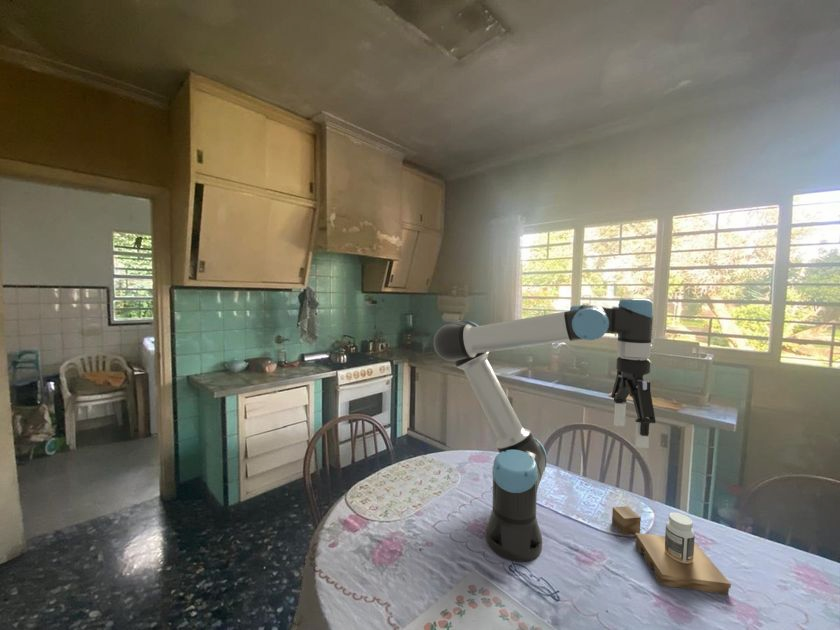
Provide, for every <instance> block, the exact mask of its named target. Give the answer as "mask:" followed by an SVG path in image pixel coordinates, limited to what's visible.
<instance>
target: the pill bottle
mask: <svg viewBox="0 0 840 630" xmlns="http://www.w3.org/2000/svg"><path fill="white" fill-rule="evenodd" d="M693 524H694V523H693V520H692V519H691V518H690V517H688V516H687V515H685V514H682V513H680V512H670V513H669V515H668V521H667V522H666V523H665V534H664V536H665V551H666V553H667V554H668V555H669V556H670V557H671V558H672V559H674V560H676V561H678V562H681V563H685V564H688V563H691V562H692V561H693V556H694V542H695V538H696V537H695V536H696V535H695V534H696V533H695V531H694V529H693V526H694V525H693Z"/></svg>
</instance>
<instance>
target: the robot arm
mask: <svg viewBox="0 0 840 630" xmlns="http://www.w3.org/2000/svg"><path fill="white" fill-rule="evenodd" d="M653 306H654V304H653V301H652V300H651V299H648V298H620V300H619V302H618V305H611V306H610V305H589V304H587V305H586V304H581V305H576V304H575V305H572V306H570V309H569V310H567V311H560V312H555V313H548V314H542V315H538V316H530V317H526V318H519V319H513V320H508V321H502V322H497V323H496V322H494V323H488V324H483V325H479V324H477V323H475V322H473V321H467V320H461V321H458V322H454V323H449V324H448V323H447V324H445V325H443V326H441V327H440V328H439V329H438V330H437V331H436V332H435V334H434V337H433V348H434V351H435V352H436V355H438V356H439V357H440V358H441V359H443V360H444V361H447V362H454V364H455V366H456V369H460V370H463V371H464V374H465V376H466V379H468V382H469V384H470V386H471V388H472V390H473V392H474V394H475V396H476V398H477V400H478V402H479V403H480V406H481V408H482V409H483V411H484V414H485V416H486V418H487V419H488V422H489V423H490V425H491V428H492V430H493V432H494V434H495V436H496V437H497V443H496V445H495V446H496V448H497V450H498V454H496V456H495V458H494V460H493V465H492V473H491V474H492V510H491V512H490V515H489V518H488V520H487V523H486V526H485V540H486V543H487V545H488V547H489V548H490V549H491V550H492V551H493V552H494V553H495V554H497V555H498V556H500V557H501V558H505V559H506V560H510V561H513V562H529V561H533V560H535V559H536V558H538V557H539V556H540V555H541V553H542V550H543V536H542V533H541V530H540V526H539V523H538V520H537V494H538V489H539V486H540V482H541V481H542V479H543V478H542V477H543V475H544V472H545V470H546V467H547V461H548V460H547V459H548V458H547V452H546V450H545V447H544V445H543V444H542V442H541V441H540V440H539V439H537V438H535V437H534V435H533V434H532V432H531V430H530V429H527V428H524V427H523V426H522V424H521V421H520V420H519V417H518V415H517V414H516V411H515V410H514V408H513V406H512V404H511V402H510V400H509V399H508V396H507V394H506V392H505V391H504V389H503V386H502V385H501V383H500V381H499V379H498V377H497V375H496V373H495V371H494V369H493V368H492V366H491V363H490V361H489V360H488V358H489V353H490V352H495V351H496V352H497V351H505V350H512V349H519V348H527V347H535V346H541V345H543V346H544V345H549V344H556V343H564V342H571V341H581V340H585V341H595V340H599V339H601V338H602V337H603V336H604V335H605V334H612V335H613V334H616V335H617V341H616V354H617V357H616V365H615V366H616V370H617V371H616V377H615V381H614V385H613V388H612V392H611V395H610V396H611V398H612V399H613V402H614V408H613V409H614V412H613V417H614V418H613V426H615V427H626V412H627V410H626V409H627V404H626V403H628V401H627V398H628V396H630V397H631V398H632V402H633V405H634V408H635V412H636V415H637V418H636V419H635V420H634V421H635V438H634V439H635V440H634V441H635V442H634V446H635V448H643V449H649V445H650V444H649V442H650V441H649V440H650V424H655V423H656V416H655V415H656V414H655V411H654V404H653V399H652V392H651V382H650V381H647V380H645V381H644V376H645V375H648V374H650V372H651V360H650V359H649V358H650V357H651V353H652V349H653V345H652V339H653V338H652V336H653V321H654V313H653V312H654V310H653V309H654V308H653Z"/></svg>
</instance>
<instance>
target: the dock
mask: <svg viewBox="0 0 840 630" xmlns="http://www.w3.org/2000/svg"><path fill="white" fill-rule="evenodd" d="M634 535H635V546H636V547H637V549H638V551H639V552H640V553H641V554H644V560H645V561H646V563H647V565H648V567H649V568H650V569H654V570H653V571H654V572H653V576H655V578H656V580H657V581H658V583H659V585H660V586H667V587H674V588H681V589H688V590H695V591H701V592H702V591H703V592H709V593H717V594H723V595H729V591H730V589H731V588H732V587H731V585H732V584H731V583H730V581H729V580H728V578H726V576H724V574H723V573H722V572H721V571H720V569H719V568H718V567H717V566H716V565H715V564H714V563H713V561H712V560H711V559H710V558H709V557H708V556H707V554H706V553H705V552H704V551H703V550H702V549H701V547H700V546H699V544H697V543H696V542H695V541H694V556H693V561H692V562H691V563H688V564H685V563H681V562H678V561H676V560H674V559H672V558H671V557H670V556H669V555H668V554H667V553H666V551H665V535H657V534H648V533H641V532H640V533H635V534H634Z"/></svg>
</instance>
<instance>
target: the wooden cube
mask: <svg viewBox="0 0 840 630" xmlns="http://www.w3.org/2000/svg"><path fill="white" fill-rule="evenodd" d="M611 513H612V516H611V524H612V525H613V526H614V527H615V528H616V529H617V530H619V532H620V533H621V534H622V535H623V536H626V535H628V534H629V535H635V533H641V519H642V518H641V516H640V515H639V514H638V513H636V512H635V510H633V509H632V508H631V507H630V506H627V505H625V506H624V505H623V506H613V507H612V512H611Z"/></svg>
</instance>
